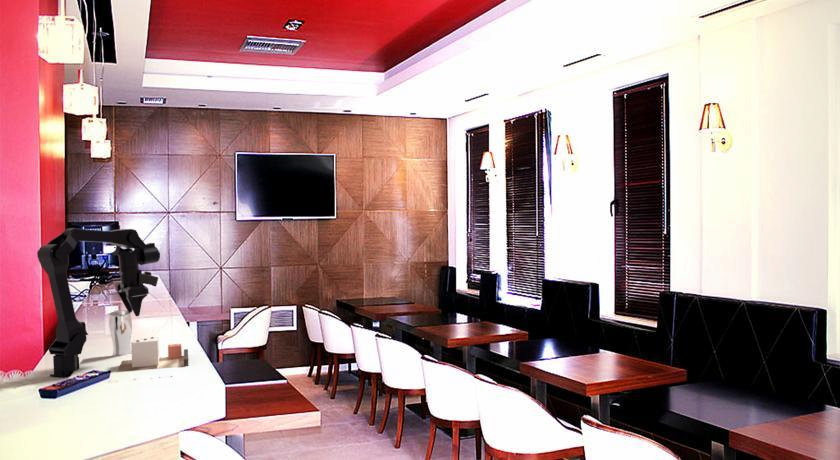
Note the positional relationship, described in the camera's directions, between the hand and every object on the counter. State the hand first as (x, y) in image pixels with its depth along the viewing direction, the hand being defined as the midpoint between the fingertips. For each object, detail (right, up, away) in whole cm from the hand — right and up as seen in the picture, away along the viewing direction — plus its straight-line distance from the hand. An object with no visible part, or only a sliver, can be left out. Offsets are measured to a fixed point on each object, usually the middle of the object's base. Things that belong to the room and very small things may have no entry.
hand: (133, 314), depth 234 cm
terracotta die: (+15, -14, -4) cm, 21 cm away
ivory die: (+9, -14, -13) cm, 21 cm away
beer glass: (-6, -15, +5) cm, 17 cm away
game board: (+11, -15, -12) cm, 23 cm away
